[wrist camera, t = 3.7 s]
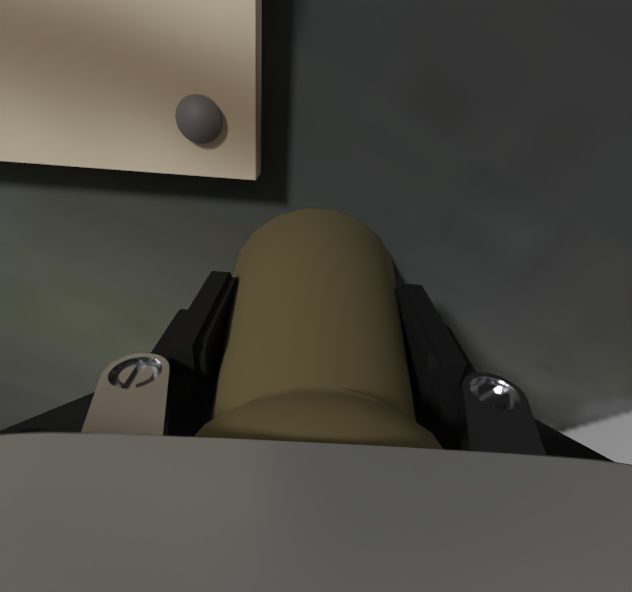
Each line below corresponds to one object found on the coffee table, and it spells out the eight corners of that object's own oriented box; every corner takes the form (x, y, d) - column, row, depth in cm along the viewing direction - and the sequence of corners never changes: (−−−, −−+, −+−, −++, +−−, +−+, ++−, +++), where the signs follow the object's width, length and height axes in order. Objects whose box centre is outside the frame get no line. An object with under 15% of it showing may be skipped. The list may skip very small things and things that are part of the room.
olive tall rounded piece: (198, 282, 14) (-88, 724, 4) (321, 168, 12) (352, 468, 2) (308, 378, 16) (298, 823, 6) (427, 294, 14) (688, 735, 4)
